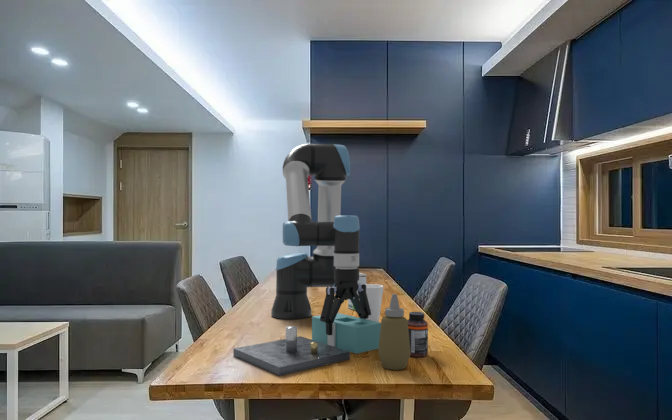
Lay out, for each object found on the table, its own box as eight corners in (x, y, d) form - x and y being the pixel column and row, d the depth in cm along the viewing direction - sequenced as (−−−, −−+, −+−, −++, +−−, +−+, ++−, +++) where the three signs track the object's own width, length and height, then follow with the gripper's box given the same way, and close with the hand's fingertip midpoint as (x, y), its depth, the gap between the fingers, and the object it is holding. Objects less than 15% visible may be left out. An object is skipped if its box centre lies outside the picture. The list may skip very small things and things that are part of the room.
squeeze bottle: (388, 373, 119) (388, 297, 119) (372, 364, 126) (372, 292, 127) (417, 369, 122) (417, 295, 122) (399, 361, 129) (400, 291, 130)
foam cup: (381, 326, 171) (381, 288, 172) (354, 324, 173) (354, 287, 173) (384, 320, 181) (384, 284, 181) (358, 319, 182) (359, 283, 183)
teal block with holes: (311, 339, 152) (311, 316, 152) (337, 335, 158) (337, 312, 158) (356, 353, 136) (356, 327, 136) (382, 347, 143) (382, 323, 143)
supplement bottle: (404, 351, 139) (404, 310, 139) (426, 351, 138) (426, 310, 139) (406, 357, 133) (406, 314, 133) (429, 357, 132) (429, 315, 133)
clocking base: (233, 355, 133) (233, 325, 134) (300, 343, 148) (300, 315, 148) (279, 376, 117) (279, 341, 117) (350, 359, 131) (350, 328, 131)
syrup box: (347, 308, 205) (347, 272, 206) (360, 307, 208) (360, 272, 208) (353, 310, 200) (353, 274, 201) (366, 309, 203) (366, 273, 203)
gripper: (323, 271, 137) (323, 352, 137) (383, 266, 152) (383, 339, 152) (307, 269, 143) (307, 346, 142) (366, 264, 158) (366, 335, 157)
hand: (346, 343), depth 147 cm, fingers open, 11 cm apart
